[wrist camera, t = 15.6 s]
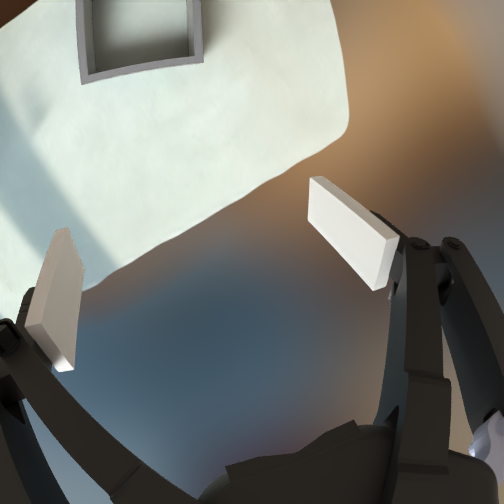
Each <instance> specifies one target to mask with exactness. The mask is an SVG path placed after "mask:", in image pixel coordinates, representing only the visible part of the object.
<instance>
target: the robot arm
mask: <svg viewBox="0 0 504 504" xmlns="http://www.w3.org/2000/svg"><path fill="white" fill-rule="evenodd" d="M309 190H310V191H309V208H308V221H309V222H310V223H311V224H312V225H313V226H314V227H315V228H316V229H317V230H318V231H319V232H320V233H321V234H322V235H323V237H324V238H325V239H326V240H327V241H328V242H329V243H330V244H331V245H332V246H333V247H334V248H335V249H336V250H337V251H338V253H339V254H340V255H341V256H342V257H343V258H344V259H345V260H346V261H347V262H348V263H349V264H350V266H351V267H352V268H353V269H354V270H355V271H356V272H357V273H358V274H359V276H360V277H361V278H362V279H363V280H364V281H365V282H366V283H367V285H368V286H369V287H370V288H371V289H372V290H373V291H374V290H377V289H379V288H382V287H385V286H386V284H387V280H388V277H389V276H390V277H391V278H392V279H393V280H394V282H393V285H392V288H391V291H390V294H389V297H388V299H390V298H391V310H390V323H389V335H388V345H387V354H386V362H385V370H384V377H383V384H382V390H381V396H380V402H379V408H378V412H377V415H376V417H375V419H374V422H373V425H359V426H357V424H356V423H355V421H354V420H352V421H350V422H348V423H346V424H343V425H341V426H339V427H336V428H334V429H332V430H330V431H328V432H325V433H324V434H322V435H321V436H320V437H318V438H317V439H316V440H314V441H313V442H312V443H310V444H309V445H307V446H306V447H304V448H303V449H302V450H300V451H298V452H296V453H292V454H283V455H275V456H263V457H256V458H253V459H250V460H246V461H243V462H239V463H236V464H232V465H228V466H225V468H226V471H227V473H225V474H223V475H221V476H220V477H218V478H217V479H215V480H214V481H213V482H212V483H210V484H209V485H208V486H207V487H206V488H205V490H204V491H203V492H202V494H201V495H200V497H199V498H198V500H197V499H195V498H193V497H192V496H190V495H189V494H187V493H186V492H184V491H183V490H181V489H180V488H178V487H177V486H175V485H174V484H172V483H171V482H169V481H168V480H167V479H165V478H164V477H163V476H161V475H160V474H159V473H157V472H156V471H155V470H153V469H152V468H151V467H149V466H148V465H146V464H145V463H144V462H143V461H142V460H140V459H139V458H138V457H137V456H135V455H134V454H133V453H132V452H131V451H129V450H128V449H127V448H126V447H125V446H123V445H122V444H121V443H120V442H119V441H118V440H117V439H115V438H114V437H113V436H112V435H111V434H110V433H109V432H108V431H107V430H106V429H104V428H103V427H102V426H101V425H100V424H99V423H98V422H97V421H96V420H95V419H94V418H93V417H92V416H91V415H90V414H89V413H88V412H87V411H86V410H85V409H84V408H83V407H82V406H81V405H80V404H79V403H78V402H77V401H76V400H75V399H74V397H73V396H72V395H70V393H69V392H68V391H67V390H66V389H65V388H64V386H63V385H62V384H61V383H60V382H59V381H58V380H57V378H56V377H55V376H54V375H53V374H52V373H51V368H52V364H53V366H54V367H55V368H56V369H57V370H58V372H62V371H68V370H74V362H75V346H76V335H77V323H78V315H79V307H80V299H81V292H82V285H83V279H84V273H85V269H84V266H83V264H82V262H81V259H80V257H79V254H78V252H77V249H76V247H75V244H74V242H73V239H72V236H71V234H70V231H69V228H68V227H67V228H63V229H60V230H56V231H55V233H54V236H53V238H52V241H51V243H50V246H49V249H48V251H47V254H46V257H45V260H44V262H43V265H42V268H41V271H40V274H39V277H38V280H37V283H36V287H32V288H29V289H28V291H27V292H26V294H25V295H24V297H23V300H22V303H21V307H20V310H19V314H18V317H17V320H16V324H14V323H13V321H12V320H11V319H8V318H4V319H1V320H0V504H70V503H69V502H68V500H67V498H66V497H65V495H64V493H63V491H62V490H61V488H60V486H59V484H58V482H57V480H56V478H55V477H54V475H53V473H52V471H51V469H50V467H49V465H48V463H47V461H46V458H45V456H44V454H43V452H42V450H41V448H40V446H39V443H38V441H37V438H36V436H35V433H34V431H33V429H32V426H31V424H30V421H29V418H28V416H27V413H26V410H25V407H24V404H23V401H22V399H25V398H26V399H27V401H28V402H29V403H30V405H31V406H32V408H33V409H34V410H35V412H36V413H37V415H38V416H39V417H40V419H41V420H42V421H43V423H44V424H45V425H46V426H47V428H48V429H49V430H50V432H51V433H52V434H53V435H54V437H55V438H56V439H57V440H58V441H59V443H60V444H61V445H62V446H63V448H64V449H65V450H66V451H67V452H68V453H69V454H70V456H71V457H72V458H73V459H74V460H75V461H76V462H77V463H78V464H79V465H80V466H81V468H82V469H83V470H84V471H85V472H86V473H87V474H88V475H89V476H90V477H91V478H92V479H93V480H94V481H95V482H96V483H97V484H98V485H99V486H100V487H101V488H102V489H104V490H105V491H106V492H107V493H108V494H109V496H110V500H111V501H112V502H113V503H114V504H499V499H498V485H499V484H500V483H501V482H502V481H503V480H504V314H503V312H502V310H501V308H500V306H499V304H498V302H497V300H496V298H495V296H494V294H493V292H492V291H491V289H490V287H489V285H488V283H487V281H486V280H485V278H484V276H483V275H482V272H481V271H480V269H479V267H478V266H477V264H476V262H475V261H474V259H473V257H472V256H471V254H470V252H469V251H468V249H467V248H466V246H465V245H464V244H463V243H462V242H461V241H459V239H457V238H454V237H445V238H443V240H442V243H441V246H431V245H430V244H429V243H428V242H427V241H425V240H423V239H421V238H418V237H410V238H408V237H407V236H406V235H405V234H403V233H402V232H401V231H400V230H398V229H397V228H396V227H394V225H392V224H391V223H390V222H389V221H386V219H385V218H383V217H382V216H381V215H380V214H378V213H375V212H373V211H368V210H367V209H365V208H364V207H363V206H362V205H361V204H359V203H358V202H357V201H355V200H354V199H353V198H351V197H350V196H349V195H347V194H346V193H345V192H344V191H342V190H341V189H340V188H338V187H337V186H335V185H334V184H332V183H331V182H330V181H329V180H327V179H326V178H324V177H323V176H316V177H310V189H309ZM453 281H454V283H453ZM441 325H442V328H443V331H444V334H445V337H446V340H447V343H448V346H449V349H450V353H451V357H452V360H453V364H454V367H455V370H456V374H457V378H458V382H459V386H460V390H461V394H462V399H463V403H464V407H465V412H466V415H467V419H468V423H469V425H470V428H471V431H472V433H473V442H472V443H471V444H470V446H469V453H470V454H471V455H472V456H475V457H472V456H468V455H465V454H462V453H459V452H455V451H452V450H449V449H448V448H449V436H450V421H451V382H450V380H449V379H448V378H444V376H443V347H442V328H441Z"/></svg>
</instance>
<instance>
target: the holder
mask: <svg viewBox="0 0 504 504" xmlns="http://www.w3.org/2000/svg"><path fill="white" fill-rule="evenodd" d="M186 3H187V26H188V45H189V57H180V58H173V59H165V60H159V61H152V62H146V63H141V64H135V65H130V66H125V67H120V68H116V69H111V70H107V71H103V72H99V73H96V65H95V54H94V40H93V23H92V0H76V31H77V47H78V59H79V69H80V78H81V85H84V84H88V83H92V82H96V81H100V80H104V79H108V78H113V77H117V76H122V75H127V74H132V73H137V72H142V71H148V70H154V69H160V68H167V67H174V66H181V65H190V64H198V63H204V59H203V41H202V20H201V0H186Z"/></svg>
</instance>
